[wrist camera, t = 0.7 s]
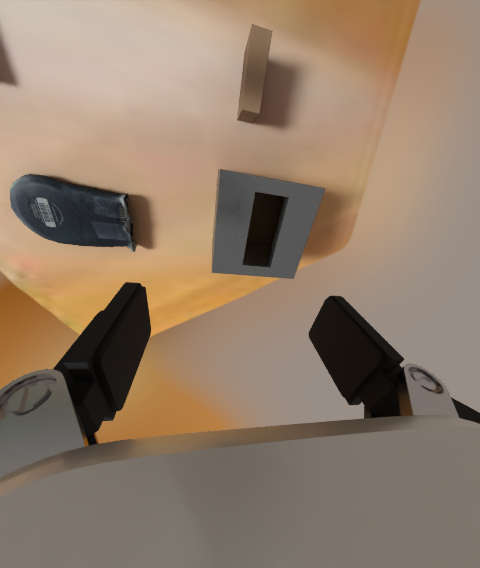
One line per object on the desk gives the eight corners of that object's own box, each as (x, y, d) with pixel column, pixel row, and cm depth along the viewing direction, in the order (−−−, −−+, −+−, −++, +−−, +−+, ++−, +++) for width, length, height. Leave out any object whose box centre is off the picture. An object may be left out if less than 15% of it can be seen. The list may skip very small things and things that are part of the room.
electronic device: (132, 184, 28) (2, 166, 24) (124, 194, 24) (-35, 175, 20) (141, 239, 34) (38, 234, 29) (136, 255, 30) (15, 251, 25)
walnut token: (244, 53, 21) (252, 23, 17) (260, 57, 22) (272, 31, 17) (237, 119, 24) (242, 109, 20) (251, 123, 25) (259, 113, 20)
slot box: (218, 169, 27) (220, 169, 18) (293, 183, 29) (325, 188, 21) (212, 246, 33) (211, 272, 25) (274, 252, 35) (293, 278, 27)
